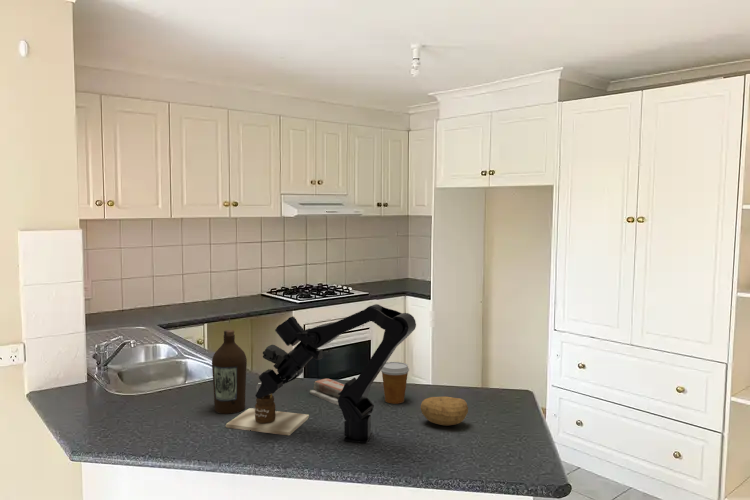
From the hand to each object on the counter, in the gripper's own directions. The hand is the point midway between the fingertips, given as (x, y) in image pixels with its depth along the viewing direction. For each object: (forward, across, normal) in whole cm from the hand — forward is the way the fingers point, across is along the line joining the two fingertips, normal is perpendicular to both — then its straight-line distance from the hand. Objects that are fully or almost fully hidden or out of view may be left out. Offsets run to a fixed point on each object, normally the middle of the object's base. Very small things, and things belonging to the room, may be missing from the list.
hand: (264, 392), depth 165 cm
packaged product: (-1, -29, +16) cm, 33 cm away
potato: (-29, -15, +43) cm, 54 cm away
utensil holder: (+6, 0, +6) cm, 9 cm away
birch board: (+6, -1, +7) cm, 9 cm away
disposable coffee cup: (-16, -31, +29) cm, 45 cm away
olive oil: (+18, -8, -5) cm, 20 cm away
